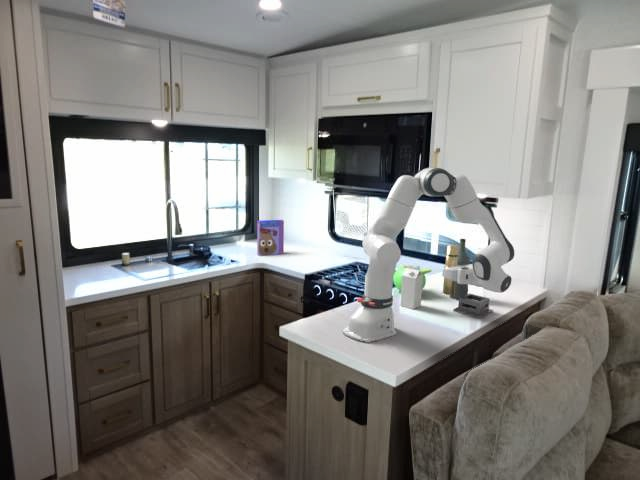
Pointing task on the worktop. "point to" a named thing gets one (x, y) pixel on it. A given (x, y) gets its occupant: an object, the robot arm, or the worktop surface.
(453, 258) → the brass tube
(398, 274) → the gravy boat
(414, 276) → the milk carton
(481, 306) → the collar stand
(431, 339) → the worktop surface
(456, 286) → the bottle
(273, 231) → the cereal box
